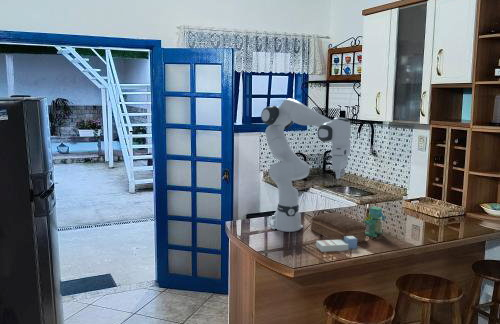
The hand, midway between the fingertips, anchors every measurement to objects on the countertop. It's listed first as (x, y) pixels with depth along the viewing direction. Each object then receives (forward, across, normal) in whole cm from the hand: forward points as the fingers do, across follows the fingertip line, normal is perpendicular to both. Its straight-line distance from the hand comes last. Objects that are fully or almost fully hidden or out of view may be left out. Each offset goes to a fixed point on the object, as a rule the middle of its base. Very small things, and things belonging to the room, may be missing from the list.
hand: (339, 177), depth 226 cm
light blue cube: (+36, +1, +7) cm, 36 cm away
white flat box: (+35, +7, -1) cm, 36 cm away
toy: (+36, -28, +15) cm, 47 cm away
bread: (+36, -16, -4) cm, 39 cm away
